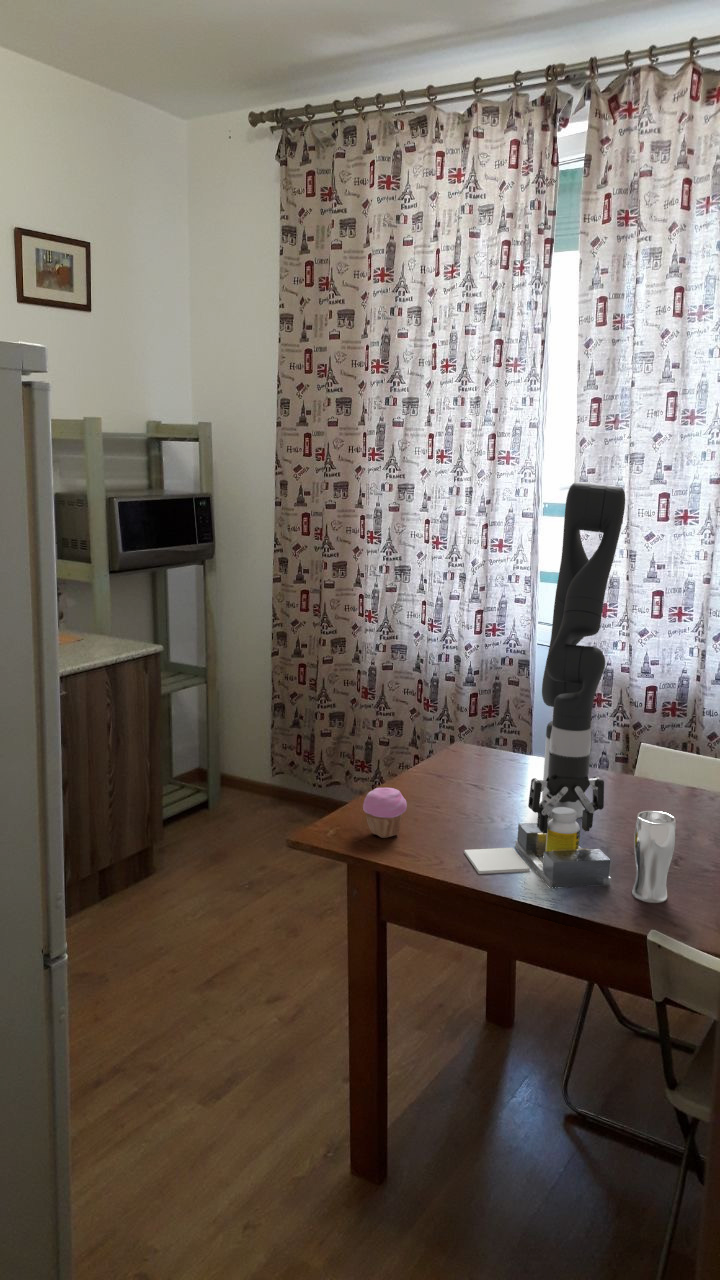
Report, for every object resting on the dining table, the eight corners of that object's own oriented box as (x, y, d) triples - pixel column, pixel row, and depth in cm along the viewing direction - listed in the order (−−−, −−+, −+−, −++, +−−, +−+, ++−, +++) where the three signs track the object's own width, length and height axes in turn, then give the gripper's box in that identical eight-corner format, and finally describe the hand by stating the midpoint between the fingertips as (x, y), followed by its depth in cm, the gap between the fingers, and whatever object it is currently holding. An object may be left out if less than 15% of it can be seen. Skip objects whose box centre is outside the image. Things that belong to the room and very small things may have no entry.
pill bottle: (581, 872, 190) (585, 817, 187) (549, 872, 189) (552, 816, 187) (571, 858, 196) (575, 805, 194) (540, 858, 195) (544, 805, 193)
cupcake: (413, 835, 205) (415, 789, 203) (384, 846, 199) (386, 799, 197) (382, 823, 211) (384, 778, 209) (353, 833, 205) (354, 787, 203)
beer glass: (652, 907, 175) (660, 827, 173) (621, 893, 181) (628, 814, 178) (677, 898, 179) (685, 819, 177) (646, 884, 185) (652, 807, 182)
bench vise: (515, 847, 201) (516, 823, 200) (570, 844, 203) (572, 821, 202) (549, 888, 182) (551, 862, 181) (610, 884, 184) (612, 859, 183)
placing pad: (464, 852, 197) (464, 849, 197) (512, 850, 199) (512, 847, 199) (479, 873, 187) (479, 870, 187) (529, 871, 189) (529, 868, 189)
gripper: (597, 742, 193) (591, 822, 196) (526, 744, 190) (522, 825, 193) (613, 754, 186) (607, 836, 188) (541, 756, 183) (536, 840, 186)
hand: (564, 831), depth 191 cm, fingers open, 8 cm apart
